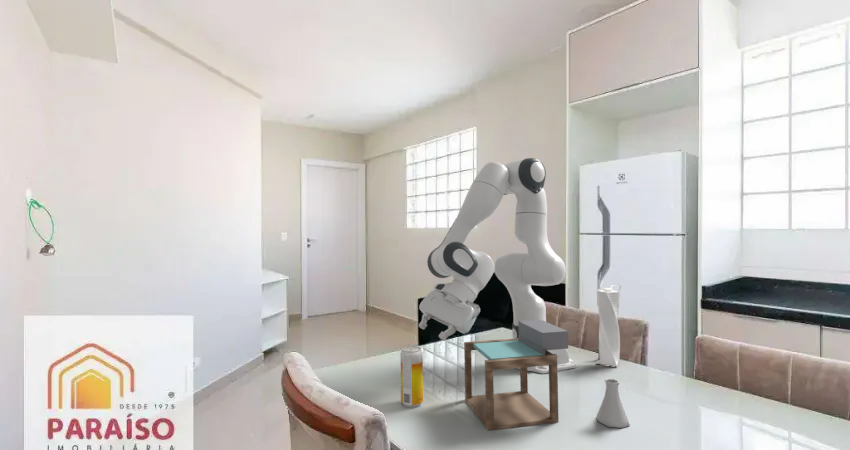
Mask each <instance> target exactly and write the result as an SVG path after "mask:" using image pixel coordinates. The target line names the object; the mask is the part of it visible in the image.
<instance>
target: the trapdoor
mask: <svg viewBox="0 0 850 450" xmlns="http://www.w3.org/2000/svg"><path fill="white" fill-rule="evenodd" d="M518 322H519V335H518V340H516V341H502V342H489V343H475V344H473V347H474V348H475V349H476V350H475V351H478V353H480V354H481V356H483V357H484V358H485V359H486V360H494V359H506V358H518V357H530V356H542V355H545V350H557V349H567V350H569V331H568V330H566V329H564V328H562V327H559V326H556V325H554V324H552V323H549V322H547V321H546V322H545V321H543V320H529V321H518Z"/></svg>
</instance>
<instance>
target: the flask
mask: <svg viewBox="0 0 850 450" xmlns="http://www.w3.org/2000/svg"><path fill="white" fill-rule="evenodd" d="M604 382H605V393H604V397H603V399H602V402H601V404H600V407H599V409H598V411H597V414H596V419H597V421H598V422H599V423H601V424H603V425H604V426H606V427H609V428H618V429H619V428H625V427H630V425H631V424H630V422H629V419H628V416H627V414H626V412H625V409H624V406H623V403H622V401H621V397H620V392H619V385H620V381H619V380H617V379H615V378H605V379H604Z"/></svg>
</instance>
